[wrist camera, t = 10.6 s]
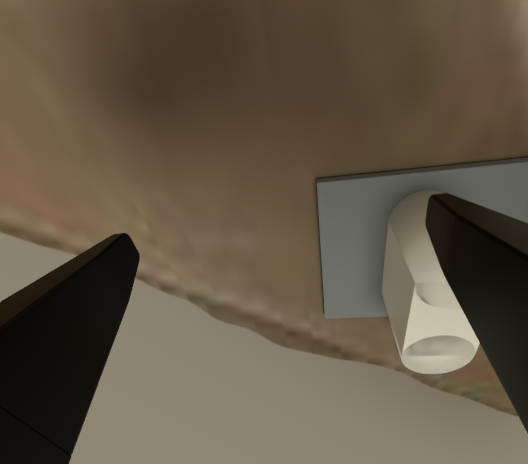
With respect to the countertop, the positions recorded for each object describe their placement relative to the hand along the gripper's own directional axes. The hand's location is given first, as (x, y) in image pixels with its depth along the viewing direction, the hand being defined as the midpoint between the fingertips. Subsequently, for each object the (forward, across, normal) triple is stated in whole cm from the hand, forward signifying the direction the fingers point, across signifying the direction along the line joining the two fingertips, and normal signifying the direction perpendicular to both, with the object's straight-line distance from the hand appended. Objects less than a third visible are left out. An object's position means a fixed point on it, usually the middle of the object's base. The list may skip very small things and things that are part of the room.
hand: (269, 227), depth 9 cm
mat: (+11, -9, +12) cm, 18 cm away
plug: (+11, -9, +13) cm, 19 cm away
